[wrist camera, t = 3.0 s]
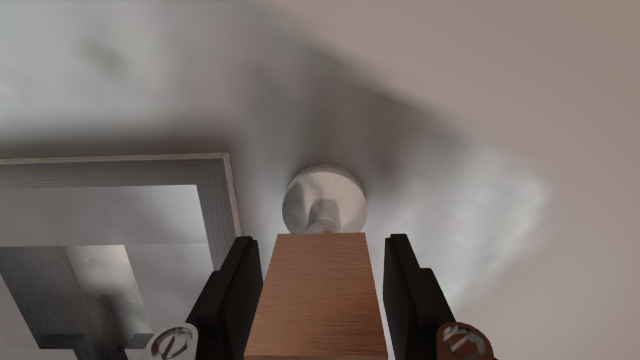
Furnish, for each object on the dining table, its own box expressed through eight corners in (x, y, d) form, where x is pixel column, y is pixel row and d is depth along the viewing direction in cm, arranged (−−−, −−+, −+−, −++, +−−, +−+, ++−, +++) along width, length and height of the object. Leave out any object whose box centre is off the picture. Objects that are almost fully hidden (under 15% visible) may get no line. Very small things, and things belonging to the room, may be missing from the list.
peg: (282, 164, 17) (212, 335, 7) (364, 162, 17) (418, 335, 7) (288, 235, 19) (239, 455, 8) (363, 233, 18) (404, 457, 8)
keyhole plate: (-21, 159, 17) (-129, 192, 13) (229, 152, 17) (196, 184, 13) (100, 414, 26) (57, 483, 22) (270, 416, 25) (258, 487, 21)
